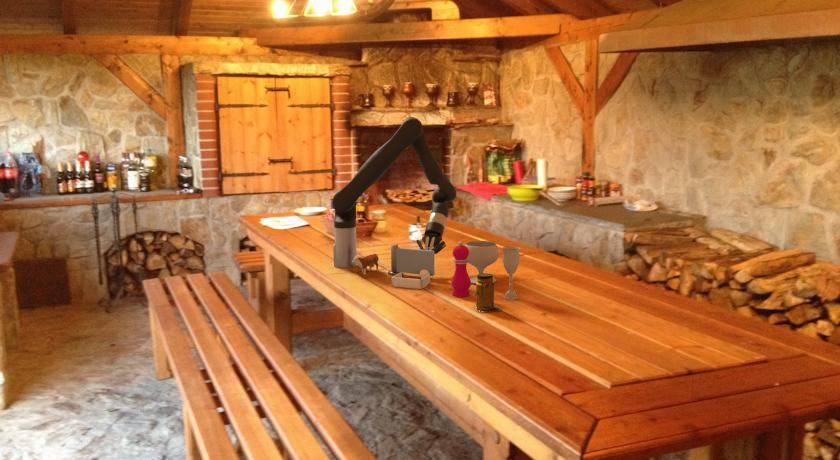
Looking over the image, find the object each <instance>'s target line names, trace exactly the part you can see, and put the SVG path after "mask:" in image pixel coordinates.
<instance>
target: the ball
mask: <svg viewBox="0 0 840 460" xmlns="http://www.w3.org/2000/svg"><path fill="white" fill-rule="evenodd" d="M427 275H430V274H429V271H428V270H425V269H424V270H421V271H420V275H419V277H420V279H422V278H423V277H425V276H427Z"/></svg>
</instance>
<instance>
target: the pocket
mask: <svg viewBox="0 0 840 460" xmlns="http://www.w3.org/2000/svg"><path fill="white" fill-rule="evenodd" d="M390 279H391V280H390V281H391V285H390V286H391V287H394V288H395V287H396V288H406V289H417V290H418V289H419V290H422V289H424V288H425V287H427V286H429V285H430V284H431V276H430V275H427V276H425V277H423V278H408V277H403V273H402V272H400V273H398V274H396V275H395V276H393V275H392V277H390ZM429 283H430V284H429ZM428 284H429V285H428Z"/></svg>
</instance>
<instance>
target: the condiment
mask: <svg viewBox="0 0 840 460" xmlns="http://www.w3.org/2000/svg"><path fill="white" fill-rule="evenodd" d="M476 276H477V283H476V284H475V287H476V288H475V306H476V307H477V308H476V309H477V310H480V311H481V312H480V311H479V312H478V313H488V312H489V313H490V312H499V311H503V309H502V308H501V307H499V306H498V305H497V304H495V282H493V278H494V276H493V274H492V273H486V272H483V273H482V274H478V273H477V275H476ZM476 309H475V310H476ZM477 310H476V311H477Z"/></svg>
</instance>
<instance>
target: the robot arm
mask: <svg viewBox="0 0 840 460" xmlns="http://www.w3.org/2000/svg"><path fill="white" fill-rule="evenodd" d="M409 146H412V148H413V151H414V153H415V154H416V157H417V159H418V161H419V164H420V166H421V169H422V170H423V171H422V172H423V173H424V175H425V177H426V179H427V181H428V183H429V184H430V185H436V186H438V187H437V188H436V189H434V190H433V192H432V193H431V205H432V206H431V210H430V215H429V217H428V219H427V224H426V227H425V229H424V230H425V231H424V235H423V236H422V238H420V239H416V241H415V242H416V244H417V246H418V249H420V250H431V251H434V255H437V254H438V253H440V252H441V251H442V250H443V249H444V248H446V247H447V244H446V242H445V241H444V240H443V236H444V232H445V228H446V224H447V218H448V214H449V206H448V205H447V203H451V202H453V201H454V200H456V198H457V190H456V188H455V186H454V185H453V184H452V182H451V181H450V180H449V179H448V178H447V176H445V174H444V173H443V170H442V168H441V166H440V165H439V162H438V160H437V158H436V156H435V155H434V153H433V152H432V149H431V147H430V146H429V143H428V141H427V138H426V136H425V133H424V126H423V124H422V121H420V119H418V117H413V116H409V117H406V118H405V119H404V120H403V121H402V122H401V125H400V126H399V128H398V129H397V131H395V133H394V134H393V135H392V137H391V138H390V139H389V140H387V142H385V143H384V144H382V146H380V147H379V148H378V149H376V150H375V151H374V153H372V155H370V157H369V158H368V159H367V160H366V161H364V163H363V164H362V165H361V167H360V168H359V169H358V171H357V172H356V173H355V175H354V176H353V177H352V179H351V180H350V181H349V182H348V183H347V184H346V185H345V186H344V187H342V188H341V189H340V190H338V191H337V192H336V193H334V195H333V197H332V200H331V201H332V202H331V203H332V206H333V209H334V225H333V226H334V244H333V245H332V249H333V251H332V253H333V267H336V268H341V269H349V268H355V267H357V266H358V264H356V263H353V262H352V261H353V260H354V258H355V257H356V256H358V254H357V253H358V252H357V250H358V249H357V225H356V224H357V201H358V200H359V198H361V196H362V195H363V194H364V193H365V192H366V191H367V190H368V189H369V188H370V187H372V186H373V185H374V184H375V183H377V182H378V181H379V180H380V179H381V178H382V177H383V176H384V175H385V174H386V172H388V170H389V169H390V168H391V167H392V166H393V165H394V163H396V161H397V160H398V158H399V157H400V156H401V154H402V153H403V152H404V151H405V150H406V149H407V148H408V147H409ZM423 243H424V246H423Z"/></svg>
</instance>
